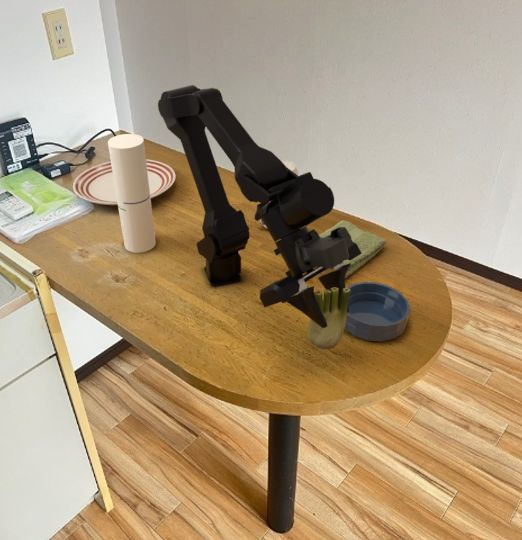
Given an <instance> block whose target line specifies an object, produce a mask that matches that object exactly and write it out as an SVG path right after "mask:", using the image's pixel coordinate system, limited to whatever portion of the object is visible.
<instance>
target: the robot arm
mask: <svg viewBox="0 0 522 540" xmlns="http://www.w3.org/2000/svg"><path fill="white" fill-rule="evenodd" d="M157 109H158V112H159V114H160V116H161V118H162V119H163V121H164V124H165V126H166V128H167V130H168V131H170V132H171V134H173V135H174V136H175V137H176V138H177V139H179V140H180V143H181V146H182V149H183V151H184V154H185V157H186V160H187V163H188V166H189V168H190V172H191V174H192V175H191V176H192V178H193V181H194V183H195V187H196V190H197V192H198V195H199V198H200V201H201V204H202V206H203V209H204V216H203V221H202V227H201V229H202V233H203V236H204V237H203V238H202V239H200V240H199V241H198V242H196V249H197V252H198V254H199V255H200V256H202V258H204V259H205V266H204V268H203V271H204V273H205V275H206V277H207V280H208V282H209V285H210V286H211V287H217V286H223V285H229V284H234V283H239V282H241V281H242V277H241V273H242V256H241V255H240V253H239V252H240V251H241V250H245V249H246V247H247V244H248V243H249V239H250V227H249V225H248V224H247V221H246V218H245V212H243V211H242V210H241V209H238V210H237V208H235V207H234V206H232V205H231V204H230V202H229V199H228V196H227V193H226V190H225V187H224V183H223V181H222V178H221V175H220V172H219V169H218V166H217V163H216V160H215V157H214V154H213V152H212V148H211V144H210V142H209V139H208V136H207V134H206V129H207V130H208V132H209V134H211V136H212V138H213V139H214V140H215V141H216V143H217V144H218V146H219V147H220V148H221V150H222V151H223V152H224V154H225V156H227V158H228V159H229V161H230V162H231V164H232V165H233V167H234V168H233V169H234V180H235V183H236V185H237V186H238V188H239V190H240V192H241V194H242V195H243V197H245V199H246V200H247V201H248V202H250V203H258V204H256V211H255V213H254V220H255V221H257V222H258V221H260V219H263V221H264V223H265V225H266V227H267V228H266V230H267V231H268V233H269V235H270V236H271V238H272V240H273V243H274V244H275V246H276V248H275V249H273V252H274V254H275V256H279V255H280V256H281V257H282V259H283V261H284V262H285V264H286V267H287V269H288V270H287V271H285V272H284V273H285V275H286V276H284V277H283V278H280V279H277V280H276V281H273V282H271V283H270V284H268V285H266V286H265V287H263V288H262V289H259V300H260V302H261V304H262V305H263V307H264V308H269V307H271V306H274V305H276V304H279V303H282V304H285V303H287V304H289V305H291V306H292V307H294V309H297V310H299V311H300V312H301V313H303V314H304V315H305V316H307V318H309V320H310V319H312V320H313V321H314V322H315V323H317V324H318V325H319V326H321V327H322V328H325V327H327V326H328V325H327V322H326V320H325V317H324V315H323V314H322V312H321V310H320V308H319V306H318V304H317V302H316V300H315V298H314V292H315V286H314V285H313V286H310V287H308V285H307V282H308V281H310V280H312V279H313V278H315V277H316V276H318V275H320V274H321V275H320V276H318V277H317V279H318V281H319V282H320V284H321V285H322V286H323V288H324V290H330V289H331V288H333V287H336V288H339V296H338V304H339V301H340V297H341V293H342V289H343V288H347V287H346V278H345V275H346V273H347V270H348V268H349V267H350V266H351V263H349V264H346V265H345V264H344V262H342V261H344V260H352V259H354V258H355V257H357V256H359V255H360V254H362V253H361V251H360V249H359V247H358V245H357V244H356V243H354V242H353V241H352V239H351V236H350V234H349V232H348V231H347V229H346V228H345V227H338V228H336V229H334V230H332V231H331V234H330V235H328V236H326V237H324V238H321V237H320V236H319V235H320V234H319V233H318V231H317V230H315V228H313V229H311V230H309V228H308V225H310V224H313V223H314V222H316V221H317V220H319V219H322V218H323V217H325V216H327V215H329V214H330V213H331V212H332V211H333V209H334V206H335V196H334V192H333V190H332V188H331V187H330V186H328V185H327V184H326V182H324V181H323V180H320V179H317V178H314V177H313V174H312V172H310V171H307V172H305V173H303V174H300V175H299V174H298V175H296V174H295V173H294V172H292V171H291V170H290V169H288V168H287V167H286V166H285V165H284V164H283V162H282V161H281V160H280V158H279V157H278V156H277V155H276V154H275V153H274V152H273V151H271V150H268V149H266V148H264V147H262V146H260V145H259V144H258V143H256V141H254V139H253V138H252V136H251V135H250V133H249V132H248V131H247V130H246V129H245V127H244V126H243V124H241V121H240V120H238V118H237V117H236V116H235V114H234V113H233V112H232V109H230V108H229V106H228V105H227V103H226V102H225V101H224V99H223V95H222V93H221V91H220V90H219V89H218V88H217V87H216V88H214V87H209V88H208V87H207V88H202V89H201V88H198V87H197V86H196V85H194V84H190V85H186V86H183V87H178V88H173V89H171V90H166V91H163V92H162V93H161V95H160V99H159V100H158V102H157ZM269 201H271V202H269ZM348 312H349V308H348V305H347V313H348Z"/></svg>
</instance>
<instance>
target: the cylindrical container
mask: <svg viewBox="0 0 522 540" xmlns="http://www.w3.org/2000/svg"><path fill="white" fill-rule="evenodd" d="M107 147H108V153H109V158H110V162H111V166H112V172H113V178H114V184H115V190H116V197H117V203H118V205H117V208H118V214H119V219H120V220H119V221H120V226H121V227H120V228H121V233H122V239H123V244H124V249H126V250H127V251H128V252H130V253H134V254H142V253H147V252H148V251H150V250H152V249H153V248H155V246H156V243H157V241H156V233H155V223H154V216H153V207H152V199H151V198H150V190H149V181H148V173H147V164H146V159H147V158H146V157H147V156H146V147H145V141H144V138H143V136H141V135H140V134H135V133H123V134H122V133H121V134H118V135H115V136H112V137H111V138H109V139H108V140H107Z"/></svg>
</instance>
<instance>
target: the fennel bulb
mask: <svg viewBox="0 0 522 540" xmlns="http://www.w3.org/2000/svg"><path fill="white" fill-rule="evenodd" d="M350 291H351V290H350V289H349V288H347V287H346V288H343V289H342V293H341V297H340V301H339V304H338V296H339V288H336V287H333V288H331V289H330V290H326V289H324V290H323V292H322V290H318V289H317V290H314V298H315V300H316V302H317V304H318V306H319V308H320V310H321V312H322V314H323V315H324V317H325V320H326V322H327V325H328V326H327V327H325V328H322V327H321V326H319V325H318V324H317V323H315V322H314V321H313V320H312V319H310V318H309V321H308V325H307V330H306V332H307V333H306V336H307V340H308V341H309V343H310V344H311V345H313V346H315V347H316V348H318V349H321V350H332V349H334V348H335V347H337V346H338V344H340V342H341V339H342V337H343V335H344V332H345V330H346V329H345V325H346V314H347V305H348V300H349V295H350Z"/></svg>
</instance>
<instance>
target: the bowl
mask: <svg viewBox="0 0 522 540" xmlns="http://www.w3.org/2000/svg"><path fill="white" fill-rule="evenodd" d="M346 288H349V289H350V290H351V291H350V295H349V300H348V308H349V312H348V313H347V314H346V325H345V329H344V330H346V331H347V332H348V333H350V334H351V335H353V336H354V337H357V338H360V339H363V340H364V341H365V340H366V341H369V342H386V341H391V340H395V339H397V338H398V337H399V336H401V335H402V334H403V333H404V332H405V330H406V327H407V324H408V320H409V317H410V314H411V313H410V312H411V307H410V306H411V305H410V302H409V300H408V299H407V297H406V296H404V294H403V293H402V292H401V291H399V290H397V289H395V288H394V287H392V286H390V285H388V284H383V283H380V282H375V281H374V282H372V281H362V282H357V283H351V285H349V286H347V287H346Z"/></svg>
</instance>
